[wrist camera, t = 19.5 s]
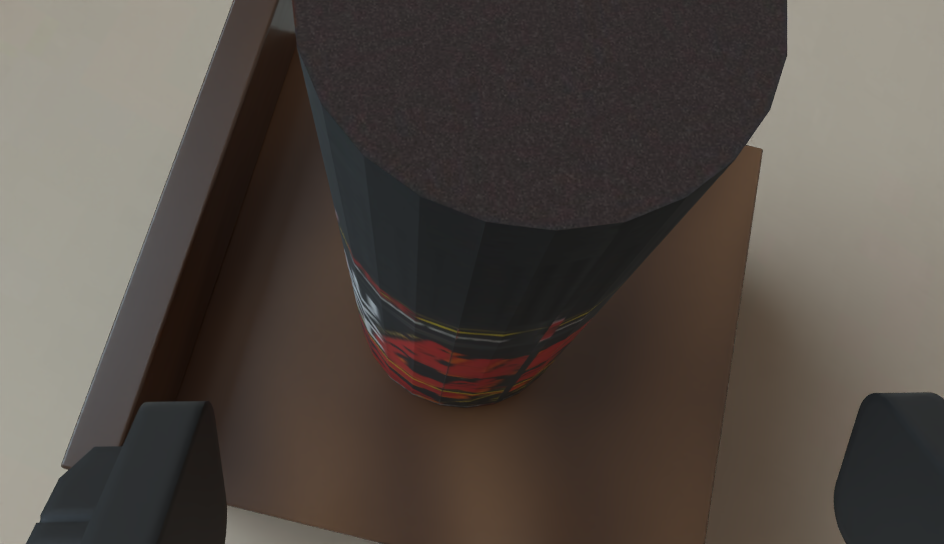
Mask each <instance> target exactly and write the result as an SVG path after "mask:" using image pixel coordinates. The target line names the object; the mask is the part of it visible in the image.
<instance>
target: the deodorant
mask: <svg viewBox="0 0 944 544" xmlns="http://www.w3.org/2000/svg"><path fill="white" fill-rule="evenodd" d="M292 7H293V16H294V25H295V35H296V44H297V50H298V54H299V58H300V63H301V67H302V71H303V76H304V80H305V84H306V88H307V93H308V97H309V101H310V106H311V110H312V114H313V118H314V123H315V127H316V131H317V136H318V140H319V144H320V148H321V153H322V157H323V161H324V166H325V170H326V174H327V178H328V183H329V187H330V191H331V196H332V200H333V204H334V208H335V213H336V217H337V221H338V226H339V230H340V234H341V238H342V243H343V247H344V251H345V256H346V260H347V264H348V268H349V273H350V277H351V281H352V286H353V290H354V294H355V298H356V303H357V307H358V311H359V316H360V320H361V324H362V328H363V332H364V334H365V337H366V339H367V342H368V344H369V347H370V349H371V351H372V354H373V356H374V357H375V359H376V360H377V361H378V363H379V364H380V365H381V366H382V368H383V369H384V370H385V372H386V373H387V374H388V375H389V377H390V378H391V379H393V380H394V381H395V382H397V383H398V384H399V385H401V386H402V387H403V388H405V389H406V390H407V391H409V392H410V393H411V394H413V395H415V396H418V397H420V398H423V399H425V400H428V401H430V402H433V403H435V404H438V405H444V406H452V407H461V408H470V407H477V406H484V405H491V404H496V403H498V402H500V401H502V400H505V399H507V398H509V397H512V396H514V395H516V394H518V393H520V392H521V391H523V390H524V389H525V388H526V387H528V386H529V385H530V384H531V383H533V382H534V381H535V380H536V379H537V378H539V377H540V376H541V375H542V374H543V373H544V372H545V371H546V369H547V368H548V367H549V366H550V365H551V364H552V363H553V362H554V360H555V359H556V358H557V357H558V356H559V355H560V354H561V353H562V352H563V350H564V349H565V348H566V347H567V346H568V345H569V344H570V343H571V342H572V340H573V339H574V338H575V337H576V336H577V335H578V334H579V333H580V332H581V330H582V329H583V328H584V327H585V326H586V325H587V324H588V323H589V322H590V320H591V319H592V318H593V317H594V316H595V315H596V314H597V313H598V312H599V310H600V309H601V308H602V307H603V306H604V305H605V304H606V303H607V302H608V300H609V299H610V298H611V297H612V296H613V295H614V294H615V293H616V292H617V290H618V289H619V288H620V287H621V286H622V285H623V284H624V283H625V282H626V280H627V279H628V278H629V277H630V276H631V275H632V274H633V273H634V272H635V270H636V269H637V268H638V267H639V266H640V265H641V264H642V263H643V261H644V260H645V259H646V258H647V257H648V256H649V255H650V254H651V253H652V251H653V250H654V249H655V248H656V247H657V246H658V245H659V244H660V243H661V241H662V240H663V239H664V238H665V237H666V236H667V235H668V234H669V233H670V231H671V230H672V229H673V228H674V227H675V226H676V225H677V224H678V223H679V221H680V220H681V219H682V218H683V217H684V216H685V215H686V214H687V213H688V211H689V210H690V209H691V208H692V207H693V206H694V205H695V204H696V203H697V201H698V200H699V199H700V198H701V197H702V196H703V195H704V194H705V193H706V191H707V190H708V189H709V188H710V187H711V186H712V185H713V184H714V183H715V181H716V180H717V179H718V178H719V177H720V176H721V175H722V174H723V173H724V171H725V170H726V169H727V168H728V167H729V166H730V165H731V164H732V162H733V161H734V160H735V159H736V158H737V156H738V155H739V154H740V152H741V151H742V149H743V148H744V146H745V145H746V144H747V142H748V141H749V139H750V138H751V136H752V135H753V133H754V132H755V131H756V129H757V128H758V126H759V125H760V123H761V122H762V121H763V119H764V118H765V116H766V115H767V113H768V112H769V110H770V108H771V105H772V102H773V99H774V95H775V92H776V89H777V86H778V83H779V79H780V76H781V73H782V70H783V67H784V63H785V60H786V57H787V0H292Z"/></svg>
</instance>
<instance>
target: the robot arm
mask: <svg viewBox="0 0 944 544" xmlns="http://www.w3.org/2000/svg"><path fill="white" fill-rule="evenodd" d="M834 510H835V516H836V521H837V524H838V528H839V530H840V533H841V535H842V537H843V539H844V540H845V542H846V544H944V399H943V398H942V397H940V396H939V395H937V394H935V393H929V392H923V393H873V394H870V395H868V396H867V397H866V398H865V399H864V400H863V402H862V403H861V405H860V408H859V411H858V414H857V417H856V420H855V424H854V427H853V430H852V433H851V436H850V440H849V443H848V446H847V449H846V452H845V456H844V459H843V462H842V465H841V469H840V472H839V475H838V478H837V481H836V485H835V490H834ZM40 516H41V520H40V523H36V525H35V527H34V529H33V531H32V533H31V535H30V537H29V539H28V541H27V543H26V544H225V537H226V525H227V503H226V493H225V486H224V478H223V471H222V464H221V457H220V449H219V442H218V435H217V427H216V420H215V414H214V410H213V406H212V404H211V403H210V402H209V401H174V402H144V403H143V404H142V405H141V406H140V408H139V410H138V412H137V414H136V416H135V419H134V421H133V423H132V426H131V428H130V430H129V432H128V435H127V437H126V439H125V442H124V444H123V446H107V447H93V448H92V449H91V450H90V451H89V452H88V453H87V454H86V455H85V456H83V457H82V458H81V459H80V460H79V461H78V462H77V463H76V464H75V465H74V466H72V467H71V468H70V469H69V470H68V471H67V472H66V473H65V474H64V475H63V476H61V477H60V478H59V480H58V482H57V484H56V486H55V488H54V490H53V492H52V494H51V496H50V498H49V500H48V502H47V504H46V505H45V507H44V509H43V511H42V513H41V515H40Z"/></svg>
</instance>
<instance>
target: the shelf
mask: <svg viewBox="0 0 944 544" xmlns="http://www.w3.org/2000/svg"><path fill="white" fill-rule="evenodd" d="M762 152H763V150H762V149H760V148H756V147H752V146H748V145H745V146H744V148H743V149H742V151H741V152H740V154H739V155H738V156H737V158H736V159H735V160H734V161H733V162H732V164H731V165H730V166H729V167H728V168H727V169H726V170H725V171H724V173H723V174H722V175H721V176H720V177H719V178H718V179H717V180H716V181H715V183H714V184H713V185H712V186H711V187H710V188H709V189H708V190H707V191H706V193H705V194H704V195H703V196H702V197H701V198H700V199H699V200H698V201H697V203H696V204H695V205H694V206H693V207H692V208H691V209H690V210H689V211H688V213H687V214H686V215H685V216H684V217H683V218H682V219H681V220H680V221H679V223H678V224H677V225H676V226H675V227H674V228H673V229H672V230H671V231H670V233H669V234H668V235H667V236H666V237H665V238H664V239H663V240H662V241H661V243H660V244H659V245H658V246H657V247H656V248H655V249H654V250H653V251H652V253H651V254H650V255H649V256H648V257H647V258H646V259H645V260H644V261H643V263H642V264H641V265H640V266H639V267H638V268H637V269H636V270H635V272H634V273H633V274H632V275H631V276H630V277H629V278H628V279H627V280H626V282H625V283H624V284H623V285H622V286H621V287H620V288H619V289H618V290H617V292H616V293H615V294H614V295H613V296H612V297H611V298H610V299H609V300H608V302H607V303H606V304H605V305H604V306H603V307H602V308H601V309H600V310H599V312H598V313H597V314H596V315H595V316H594V317H593V318H592V319H591V320H590V322H589V323H588V324H587V325H586V326H585V327H584V328H583V329H582V330H581V332H580V333H579V334H578V335H577V336H576V337H575V338H574V339H573V340H572V342H571V343H570V344H569V345H568V346H567V347H566V348H565V349H564V350H563V352H562V353H561V354H560V355H559V356H558V357H557V358H556V359H555V360H554V362H553V363H552V364H551V365H550V366H549V367H548V368H547V369H546V371H545V372H544V373H543V374H542V375H541V376H540V377H539V378H537V379H536V380H535V381H534V382H533V383H531V384H530V385H529V386H528V387H526V388H525V389H524V390H523V391H521V392H520V393H518V394H516V395H514V396H512V397H509V398H507V399H505V400H502V401H500V402H498V403H496V404H491V405H484V406H477V407H470V408H461V407H452V406H444V405H438V404H435V403H433V402H430V401H428V400H425V399H423V398H420V397H418V396H415V395H413V394H411V393H410V392H409V391H407V390H406V389H405V388H403V387H402V386H401V385H399V384H398V383H397V382H395V381H394V380H393V379H391V378H390V377H389V375H388V374H387V373H386V372H385V370H384V369H383V368H382V366H381V365H380V364H379V363H378V361H377V360H376V359H375V357H374V356H373V354H372V351H371V349H370V347H369V344H368V342H367V339H366V337H365V334H364V332H363V328H362V324H361V320H360V316H359V311H358V307H357V303H356V298H355V294H354V290H353V286H352V281H351V277H350V273H349V268H348V264H347V260H346V256H345V251H344V247H343V243H342V238H341V234H340V230H339V226H338V221H337V217H336V213H335V208H334V204H333V200H332V196H331V191H330V187H329V183H328V178H327V174H326V170H325V166H324V161H323V157H322V153H321V148H320V144H319V140H318V136H317V131H316V127H315V123H314V118H313V114H312V110H311V106H310V101H309V97H308V93H307V88H306V84H305V80H304V76H303V71H302V67H301V63H300V58H299V54H298V50H297V44H296V35H295V25H294V16H293V7H292V0H233V3H232V6H231V8H230V11H229V14H228V16H227V19H226V22H225V25H224V27H223V30H222V33H221V35H220V38H219V41H218V43H217V46H216V49H215V51H214V54H213V57H212V60H211V62H210V65H209V68H208V70H207V73H206V76H205V78H204V81H203V84H202V87H201V89H200V92H199V95H198V97H197V100H196V103H195V105H194V108H193V111H192V113H191V116H190V119H189V122H188V124H187V127H186V130H185V132H184V135H183V138H182V140H181V143H180V146H179V148H178V151H177V154H176V157H175V159H174V162H173V165H172V167H171V170H170V173H169V175H168V178H167V181H166V184H165V186H164V189H163V192H162V194H161V197H160V200H159V202H158V205H157V208H156V210H155V213H154V216H153V219H152V221H151V224H150V227H149V229H148V232H147V235H146V237H145V240H144V243H143V245H142V248H141V251H140V254H139V256H138V259H137V262H136V264H135V267H134V270H133V272H132V275H131V278H130V281H129V283H128V286H127V289H126V291H125V294H124V297H123V299H122V302H121V305H120V307H119V310H118V313H117V316H116V318H115V321H114V324H113V326H112V329H111V332H110V334H109V337H108V340H107V342H106V345H105V348H104V351H103V353H102V356H101V359H100V361H99V364H98V367H97V369H96V372H95V375H94V378H93V380H92V383H91V386H90V388H89V391H88V394H87V396H86V399H85V402H84V404H83V407H82V410H81V413H80V415H79V418H78V421H77V423H76V426H75V429H74V431H73V434H72V437H71V439H70V442H69V445H68V448H67V450H66V453H65V456H64V458H63V461H62V464H61V467H62V468H64V469H68V470H69V469H70V468H71V467H72V466H74V465H75V464H76V463H77V462H78V461H79V460H80V459H81V458H82V457H83V456H85V455H86V454H87V453H88V452H89V451H90V450H91V449H92V448H93V447H107V446H123V444H124V442H125V439H126V437H127V435H128V432H129V430H130V428H131V426H132V423H133V421H134V419H135V416H136V414H137V412H138V410H139V408H140V406H141V405H142V404H143V403H144V402H174V401H209V402H210V403H211V404H212V406H213V410H214V414H215V420H216V427H217V435H218V442H219V449H220V457H221V464H222V471H223V478H224V486H225V493H226V503H227V505H228V506H232V507H236V508H240V509H244V510H248V511H252V512H256V513H261V514H265V515H269V516H273V517H277V518H281V519H285V520H289V521H293V522H297V523H301V524H305V525H309V526H313V527H317V528H321V529H325V530H329V531H333V532H337V533H341V534H345V535H350V536H354V537H358V538H362V539H366V540H370V541H374V542H378V543H382V544H705V539H706V532H707V525H708V518H709V511H710V505H711V498H712V491H713V484H714V478H715V471H716V464H717V457H718V450H719V444H720V437H721V430H722V423H723V417H724V410H725V403H726V396H727V390H728V383H729V376H730V369H731V362H732V356H733V349H734V342H735V335H736V329H737V322H738V315H739V308H740V301H741V295H742V288H743V281H744V274H745V268H746V261H747V254H748V247H749V240H750V234H751V227H752V220H753V213H754V207H755V200H756V193H757V186H758V179H759V173H760V166H761V159H762Z"/></svg>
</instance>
